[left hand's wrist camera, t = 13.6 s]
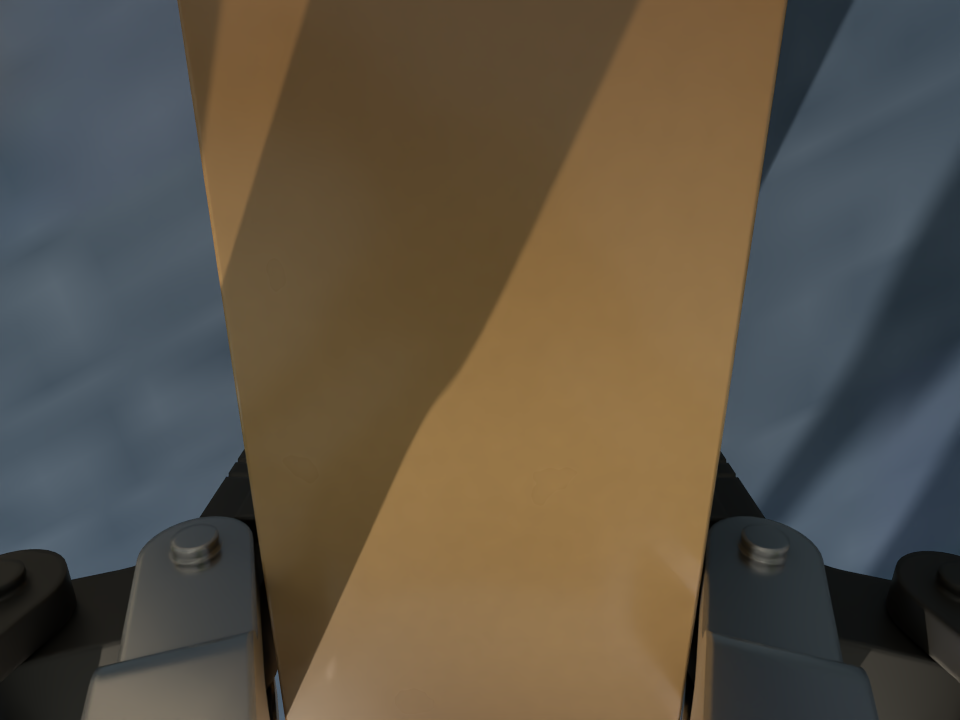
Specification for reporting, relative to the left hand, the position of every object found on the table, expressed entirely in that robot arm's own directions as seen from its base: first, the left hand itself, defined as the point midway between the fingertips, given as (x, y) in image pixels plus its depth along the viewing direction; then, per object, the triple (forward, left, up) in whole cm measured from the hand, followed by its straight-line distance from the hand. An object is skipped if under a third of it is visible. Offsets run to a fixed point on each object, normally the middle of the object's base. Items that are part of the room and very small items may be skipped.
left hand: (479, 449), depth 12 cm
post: (-16, +18, -4) cm, 24 cm away
